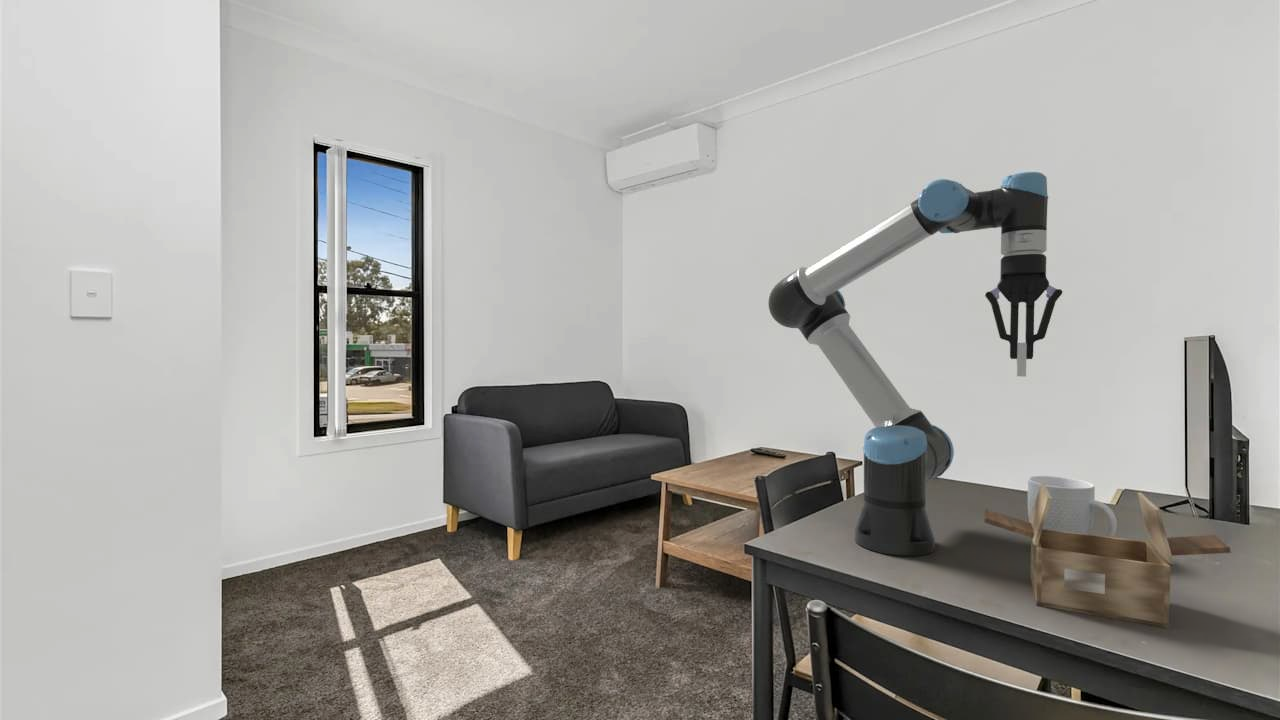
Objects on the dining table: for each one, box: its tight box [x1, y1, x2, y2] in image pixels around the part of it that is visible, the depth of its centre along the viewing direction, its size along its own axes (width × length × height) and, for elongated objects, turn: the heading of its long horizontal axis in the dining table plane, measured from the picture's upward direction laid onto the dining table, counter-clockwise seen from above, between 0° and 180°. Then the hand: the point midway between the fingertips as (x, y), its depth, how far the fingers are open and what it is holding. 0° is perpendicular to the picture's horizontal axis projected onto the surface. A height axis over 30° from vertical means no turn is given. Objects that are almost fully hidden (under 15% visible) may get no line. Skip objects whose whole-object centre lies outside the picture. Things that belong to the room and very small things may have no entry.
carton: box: [1029, 529, 1171, 629], centre depth 96 cm, size 16×12×9 cm
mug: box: [1027, 475, 1118, 538], centre depth 120 cm, size 15×11×13 cm
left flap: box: [983, 483, 1052, 545], centre depth 101 cm, size 8×11×8 cm
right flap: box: [1137, 492, 1232, 565], centre depth 91 cm, size 8×11×8 cm
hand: (1021, 375), depth 119 cm, fingers closed
